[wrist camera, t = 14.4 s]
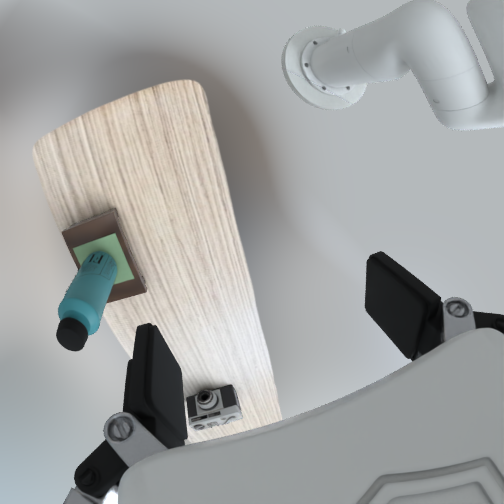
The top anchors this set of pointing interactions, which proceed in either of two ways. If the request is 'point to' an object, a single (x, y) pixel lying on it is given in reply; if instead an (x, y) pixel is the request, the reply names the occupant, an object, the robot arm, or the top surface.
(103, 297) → the beverage bottle
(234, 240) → the top surface
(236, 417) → the camera
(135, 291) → the shelf
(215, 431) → the top surface
